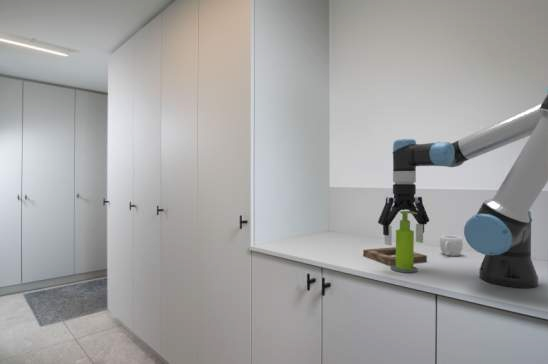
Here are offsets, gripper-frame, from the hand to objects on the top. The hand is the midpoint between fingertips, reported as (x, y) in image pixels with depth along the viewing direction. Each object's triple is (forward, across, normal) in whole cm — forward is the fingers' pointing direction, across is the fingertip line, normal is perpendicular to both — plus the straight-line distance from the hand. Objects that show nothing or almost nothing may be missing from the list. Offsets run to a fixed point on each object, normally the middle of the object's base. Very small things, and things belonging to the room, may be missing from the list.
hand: (404, 243), depth 116 cm
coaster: (+9, 0, 0) cm, 9 cm away
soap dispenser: (+9, -1, 0) cm, 9 cm away
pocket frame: (+9, -7, -14) cm, 18 cm away
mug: (+10, -33, -11) cm, 36 cm away
